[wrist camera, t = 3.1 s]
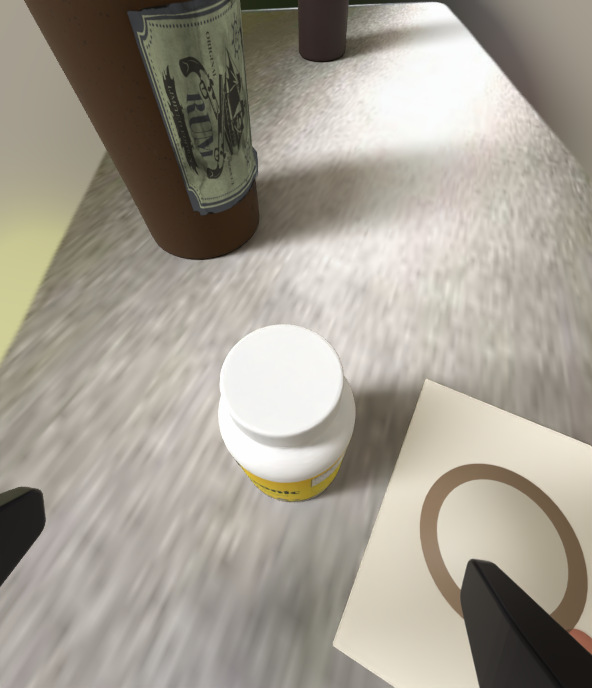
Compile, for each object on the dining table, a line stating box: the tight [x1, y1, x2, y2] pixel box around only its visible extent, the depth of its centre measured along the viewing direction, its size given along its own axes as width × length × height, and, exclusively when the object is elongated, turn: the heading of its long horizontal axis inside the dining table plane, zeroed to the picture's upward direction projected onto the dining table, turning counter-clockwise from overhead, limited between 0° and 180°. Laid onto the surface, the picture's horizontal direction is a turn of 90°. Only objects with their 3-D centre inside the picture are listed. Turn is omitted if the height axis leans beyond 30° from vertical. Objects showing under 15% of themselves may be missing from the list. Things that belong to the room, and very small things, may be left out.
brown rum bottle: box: [24, 0, 259, 259], centre depth 19 cm, size 11×11×25 cm
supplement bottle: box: [218, 324, 355, 503], centre depth 15 cm, size 5×5×10 cm
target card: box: [333, 379, 592, 688], centre depth 16 cm, size 14×11×1 cm
